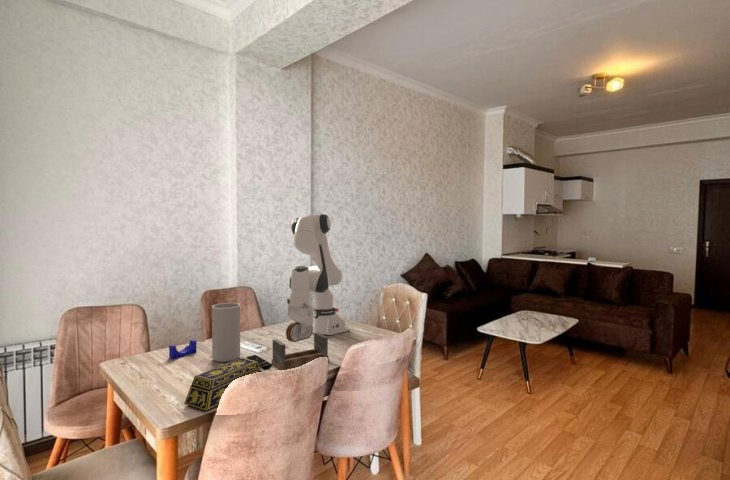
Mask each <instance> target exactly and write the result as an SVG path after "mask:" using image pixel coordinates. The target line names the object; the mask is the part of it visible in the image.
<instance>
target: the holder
mask: <svg viewBox="0 0 730 480" xmlns="http://www.w3.org/2000/svg"><path fill="white" fill-rule="evenodd" d="M328 340H329V337H328V336H327V335H325V334H320V333H318V332H317V333H313V348H312V349H305V350H301V351H295V352H292V353H291V352H290V353H286V343H283V341H281V340H279V339H278V338H274V339H272V358H271V365H272V366H274V367H275V368H277V370H279V371H284V370H290V369H294V367H295V368H298V366H299V367H302V366H301V365H303V364H306V363H308V362H310V361H312V360H314V359H316V358H319V357H327V358H328V361H330V359H329V351H328V350H329V349H328V348H329V347H328V343H329V342H328ZM289 368H290V369H289Z"/></svg>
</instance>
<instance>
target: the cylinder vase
mask: <svg viewBox="0 0 730 480" xmlns="http://www.w3.org/2000/svg"><path fill="white" fill-rule="evenodd" d="M211 324H212V325H211V333H212V334H211V336H212V337H211V355H212V356H211V358H212V360H213V361H214V362H218V363H229V362H232V361H235V360H237V359H240V358H241V304H240V303H237V302H236V303H235V302H221V303H217V304H213V305H211Z"/></svg>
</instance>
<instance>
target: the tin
mask: <svg viewBox="0 0 730 480" xmlns="http://www.w3.org/2000/svg"><path fill="white" fill-rule="evenodd" d="M300 329H301V324H300V323H298V322H295V323H294V322H292V323H290V324H289V325H288V326H287V328H286V330H285V337H286V339H287V341H288V342H292V343H296V342H300V341H303V340H308V339H309V338H311V336H312V335H313V333H312V332H313V325H312V326H307V327H306V328H305V333H300Z"/></svg>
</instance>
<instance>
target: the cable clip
mask: <svg viewBox="0 0 730 480" xmlns="http://www.w3.org/2000/svg"><path fill="white" fill-rule="evenodd" d="M168 353H169V354H168V357H169V359H171V360H174V359H175V360H176V359H179V358H183V357H185V356H188V355H192V354H194V353H197V340H196V339H190V341H189V344H188V345H186V346H185V347H184V348H182V349H181V350H179V351H178V349H177V346H176V345H174V344H169V346H168ZM182 356H183V357H182Z"/></svg>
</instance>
